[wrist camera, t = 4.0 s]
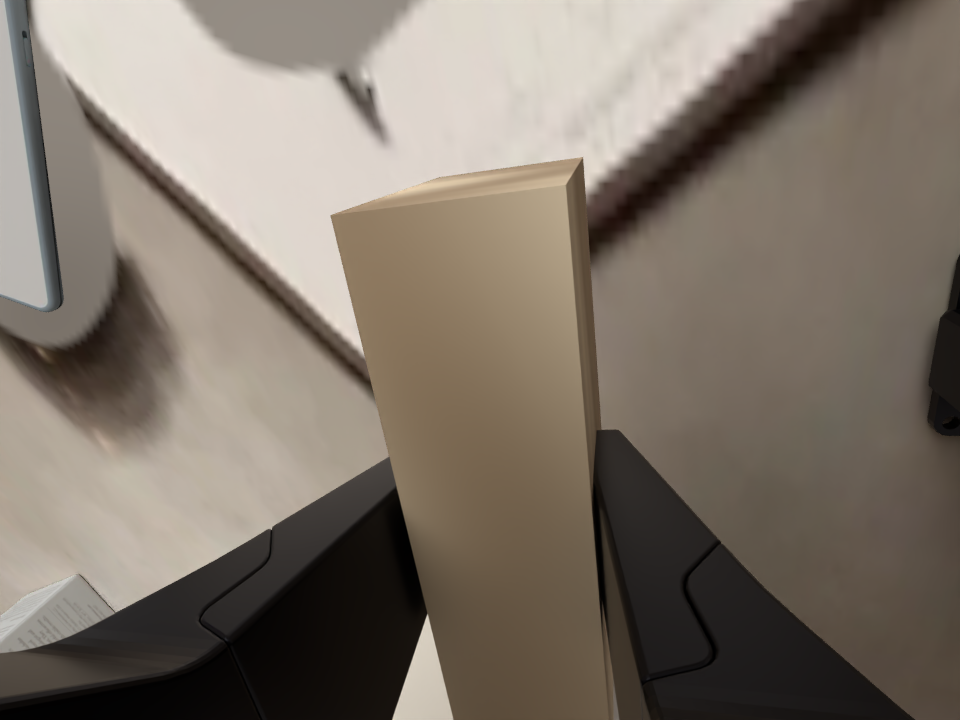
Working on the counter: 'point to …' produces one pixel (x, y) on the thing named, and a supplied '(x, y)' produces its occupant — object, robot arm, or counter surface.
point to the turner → (492, 427)
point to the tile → (424, 684)
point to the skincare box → (51, 615)
